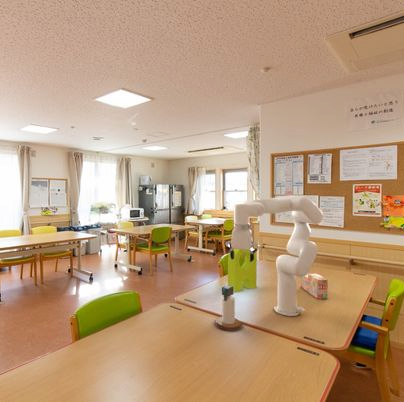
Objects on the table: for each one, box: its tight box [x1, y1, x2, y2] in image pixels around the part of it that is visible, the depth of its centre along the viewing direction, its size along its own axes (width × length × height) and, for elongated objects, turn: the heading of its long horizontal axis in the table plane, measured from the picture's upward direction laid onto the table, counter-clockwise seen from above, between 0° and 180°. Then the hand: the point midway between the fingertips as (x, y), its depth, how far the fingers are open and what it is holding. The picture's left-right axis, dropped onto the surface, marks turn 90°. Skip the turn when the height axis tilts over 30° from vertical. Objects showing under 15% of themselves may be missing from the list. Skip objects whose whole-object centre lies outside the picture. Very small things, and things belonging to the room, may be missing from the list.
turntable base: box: [214, 319, 243, 332], centre depth 146 cm, size 13×13×1 cm
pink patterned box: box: [300, 273, 329, 300], centre depth 190 cm, size 21×6×12 cm, turn 179°
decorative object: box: [227, 248, 258, 293], centre depth 199 cm, size 20×7×30 cm, turn 118°
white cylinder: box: [216, 284, 241, 329], centre depth 145 cm, size 12×12×19 cm
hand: (242, 260), depth 149 cm, fingers open, 9 cm apart
